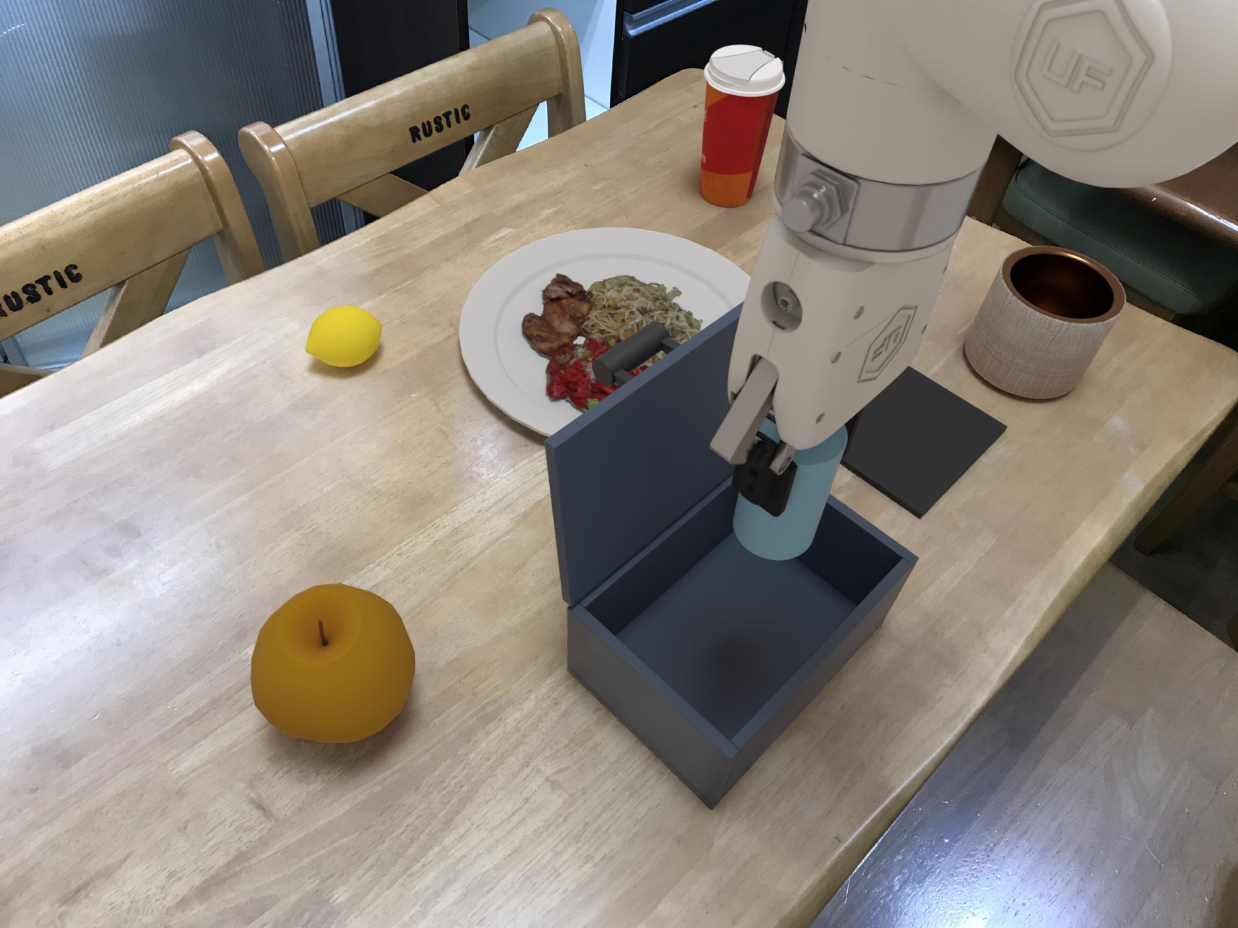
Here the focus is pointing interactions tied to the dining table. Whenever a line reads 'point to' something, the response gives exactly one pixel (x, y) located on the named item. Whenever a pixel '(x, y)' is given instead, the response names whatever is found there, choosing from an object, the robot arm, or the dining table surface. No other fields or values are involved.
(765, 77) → the coffee cup
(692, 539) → the chest
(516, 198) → the dining table surface
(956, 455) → the mat
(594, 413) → the lid
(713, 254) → the plated food
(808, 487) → the bottle
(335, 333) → the lemon
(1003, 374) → the planter
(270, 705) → the apple
